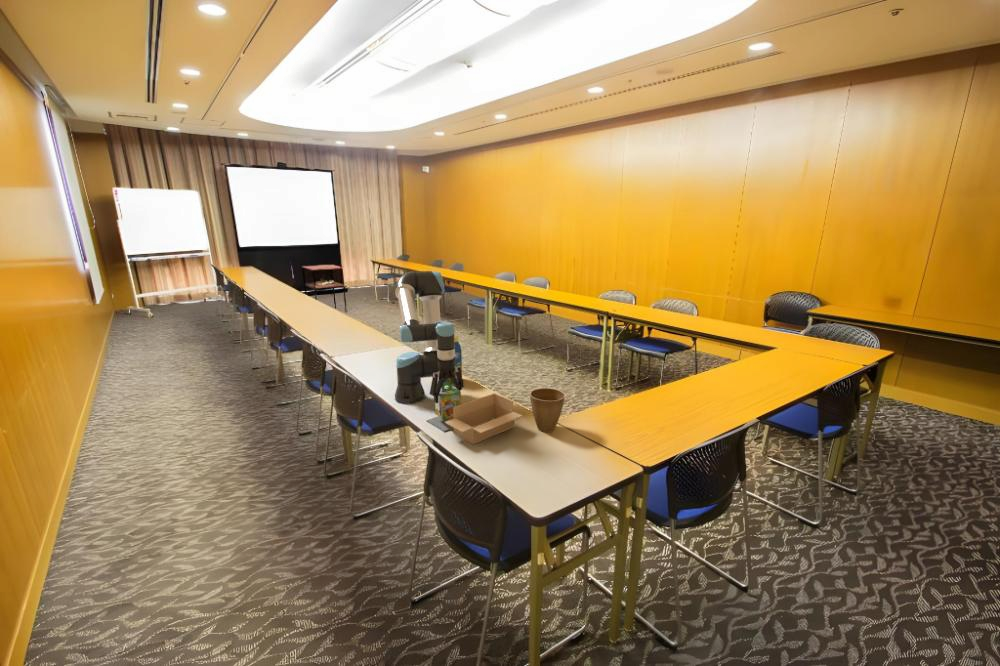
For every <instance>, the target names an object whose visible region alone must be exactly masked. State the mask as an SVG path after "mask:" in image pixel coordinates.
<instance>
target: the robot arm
mask: <svg viewBox="0 0 1000 666" xmlns="http://www.w3.org/2000/svg"><path fill="white" fill-rule="evenodd" d="M444 293H445V282H444V279H443V275H442V274H441V272H440V271H438V270H435V271H434V270H428V271H427V270H422V271H409V272H408V271H407V272H405V273H404V274H402V275H401V276H400V277H399V278H398V279H397V281H396V283H395V286H394V294H395V297H396V298H397V300H398V306H399V312H400V317H401V322H402V324H401V325H399V329H398V330H399V339H400V342H401V343H413V342H414V343H415V342H416V343H417V342H424V341H425V348H424V349H423V350H422V351H423V352H422V353H423V354H420V353H419V351H407V352H404V353H402V354H400V355H398V356H397V357H396V365H395V367H396V379H397V386H396V389H395V393H394V400H395V401H396V402H397V403H399V404H415V403H418V402H422V401H423V400H424V399H425V398H426V393H425V389H424V387H423V384H422V378H432V380H431V383H430V389H429V395H430V396H432V397H433V402H434V404H435V403H436V409H438V410H441V404H440V396H439V393H440V390H441V388H442V385H443V383H444V382H445V380H446V379H448V378H451V380H452V382H453V383H452V384H453V385H454V388H455V389H457V390H458V391H459V392H461V391H462V390H463V388H464V387H465V383H464V380H463V374H462V375H461V368H460V367H457V366H456V367H455V358H454V357H455V341H454V338H455V332H456V330H455V325H454V323H453V322H451V321H450V322H449V321H441V319H442V318H441V308H440V306H441V305H440V299H442V295H443V294H444ZM415 295H418V299H419V300H420V301H421V302H422V315H423V323H422V324H421V323H420V319H419V315H418V310H417V304H416V300H415ZM454 372H455V373H456V376H457V380H458V381H457V380H456V378H455V375H454ZM441 378H442V379H441Z"/></svg>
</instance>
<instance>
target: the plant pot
mask: <svg viewBox="0 0 1000 666" xmlns="http://www.w3.org/2000/svg"><path fill="white" fill-rule="evenodd" d="M529 397H530V403H531V405H530V406H531V410H532V415H533V418H534V422H535V425H536V427H537V430H538V431H540V432H543V433H551V432H553V431H555V429H556V427H557V424H558V423H559V420H560V417H561V413H562V410H563V407H564V403H565V398H566V394H565V392H563V391H561V390H558V389H555V388H546V387H542V388H536V389H533V390H532V391H530V393H529Z"/></svg>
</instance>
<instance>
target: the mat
mask: <svg viewBox="0 0 1000 666" xmlns="http://www.w3.org/2000/svg"><path fill="white" fill-rule="evenodd" d="M452 419H454V418H451V419H447V420H442V419H441V418H440V417H439V416H438V415H436V416H434V417H432V418H428V419H426V422H427V423H428V424H429V425H431V426H433V427H435V428H437V429H439V430H440V431H442V432H444V433H446V432H449V431H452V430H454V428H453V427H452V426H450V425H448V424H446V423H445V422H446V421H449V420H452Z"/></svg>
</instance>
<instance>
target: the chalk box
mask: <svg viewBox="0 0 1000 666" xmlns="http://www.w3.org/2000/svg"><path fill="white" fill-rule="evenodd" d="M455 388H456V387H453V386H452V383H450V382H448V383H444V384H443V385H442V388H441V390H440V393H439V396H440V404H441V410H438V409H436V403H435V402H434V409H435V415H436V416H439V417H440V418H441V419H442V420H447V419H451V418H454V409H453V407H455V406H458V405H461V404H462V393H461V391H460V392H459V391H458V390H457V389H455Z"/></svg>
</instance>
